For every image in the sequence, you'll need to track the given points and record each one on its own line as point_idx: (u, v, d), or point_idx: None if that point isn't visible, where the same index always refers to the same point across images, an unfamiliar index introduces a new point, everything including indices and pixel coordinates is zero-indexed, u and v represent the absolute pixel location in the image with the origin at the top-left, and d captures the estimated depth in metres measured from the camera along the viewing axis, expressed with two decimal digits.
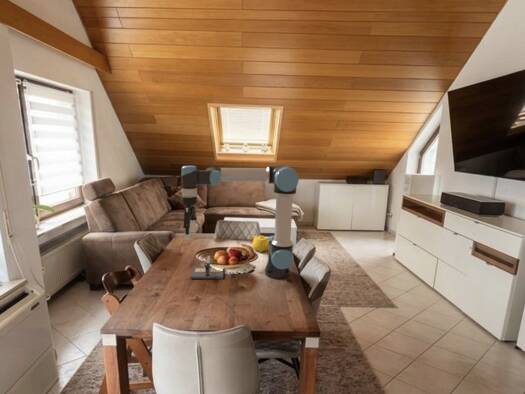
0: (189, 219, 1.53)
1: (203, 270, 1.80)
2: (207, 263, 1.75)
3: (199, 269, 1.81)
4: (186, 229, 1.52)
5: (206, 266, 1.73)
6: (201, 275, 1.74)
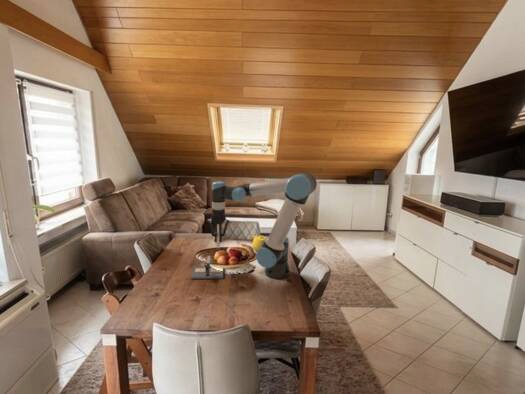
0: None
1: (203, 270, 1.80)
2: (207, 263, 1.75)
3: (199, 269, 1.81)
4: None
5: (206, 266, 1.73)
6: (201, 275, 1.74)
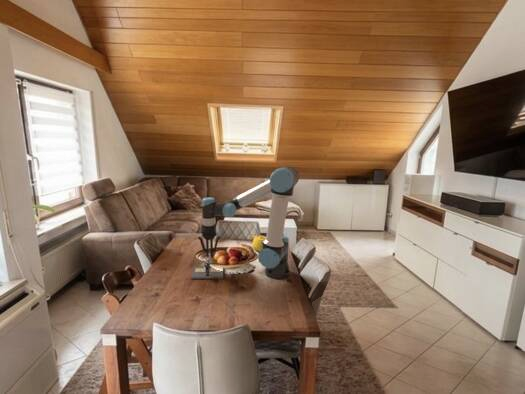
0: (206, 245, 1.79)
1: (203, 270, 1.80)
2: (207, 263, 1.75)
3: (199, 269, 1.81)
4: (206, 252, 1.81)
5: (206, 266, 1.73)
6: (201, 275, 1.74)
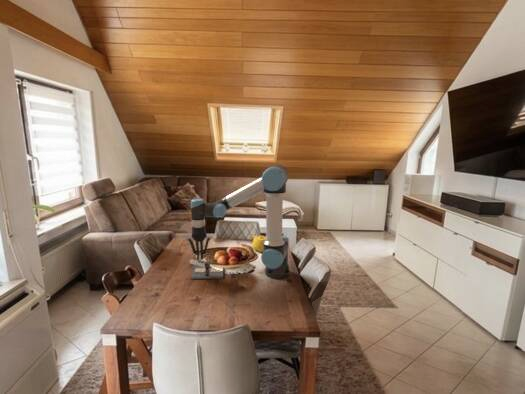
0: (196, 247, 1.76)
1: (203, 270, 1.80)
2: (206, 263, 1.74)
3: (199, 269, 1.81)
4: (197, 254, 1.78)
5: (208, 266, 1.73)
6: (201, 275, 1.74)
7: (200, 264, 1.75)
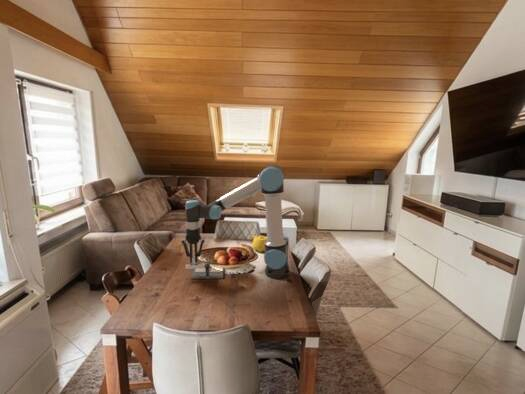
0: None
1: (203, 270, 1.80)
2: (205, 263, 1.74)
3: (199, 269, 1.81)
4: (190, 257, 1.74)
5: (209, 265, 1.74)
6: (201, 275, 1.74)
7: (199, 266, 1.72)
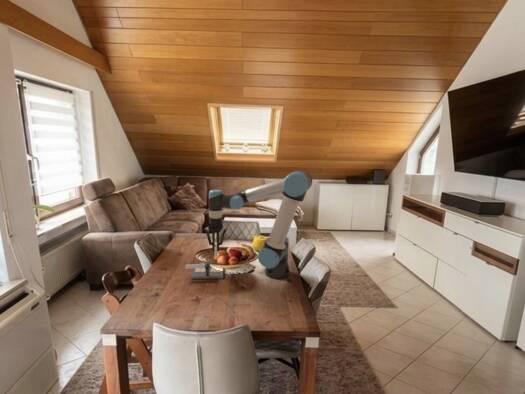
0: (212, 238, 1.76)
1: (203, 270, 1.80)
2: (205, 263, 1.74)
3: (199, 269, 1.81)
4: None
5: (209, 265, 1.74)
6: (201, 275, 1.74)
7: (199, 266, 1.72)
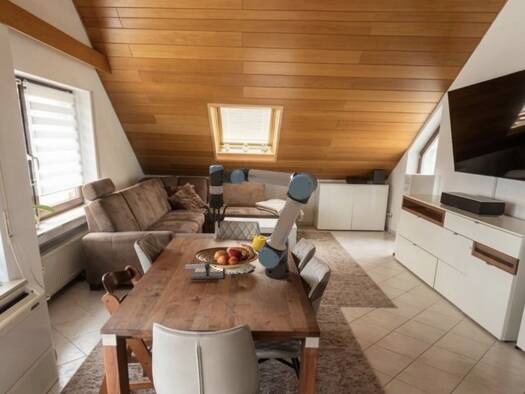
0: (213, 215, 1.74)
1: (203, 270, 1.80)
2: (205, 263, 1.74)
3: (199, 269, 1.81)
4: (213, 222, 1.76)
5: (209, 265, 1.74)
6: (201, 275, 1.74)
7: (199, 266, 1.72)
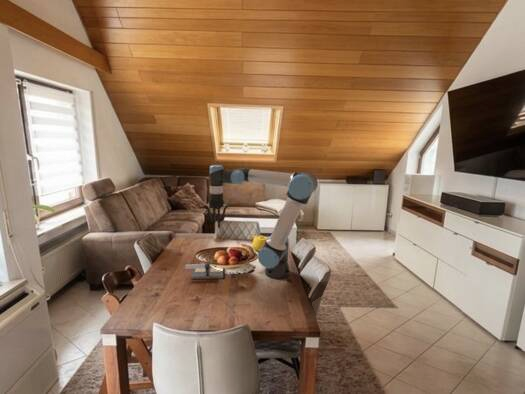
0: (213, 215, 1.74)
1: (203, 270, 1.80)
2: (205, 263, 1.74)
3: (199, 269, 1.81)
4: (213, 222, 1.76)
5: (209, 265, 1.74)
6: (201, 275, 1.74)
7: (199, 266, 1.72)
